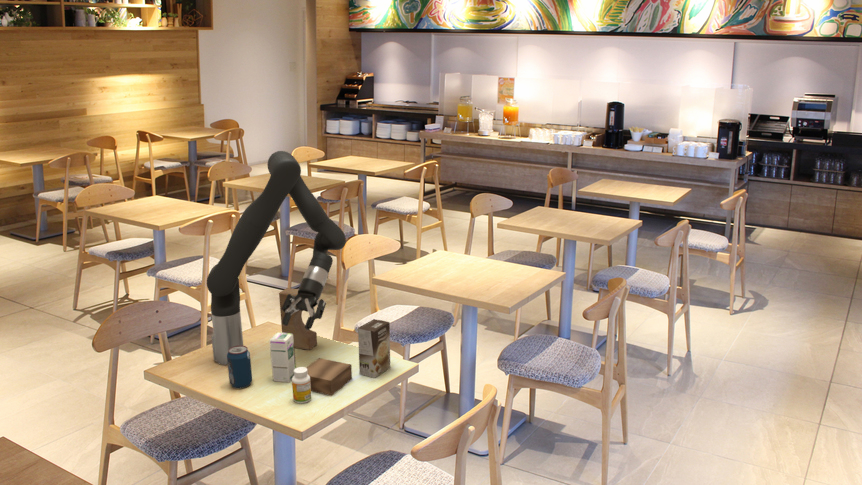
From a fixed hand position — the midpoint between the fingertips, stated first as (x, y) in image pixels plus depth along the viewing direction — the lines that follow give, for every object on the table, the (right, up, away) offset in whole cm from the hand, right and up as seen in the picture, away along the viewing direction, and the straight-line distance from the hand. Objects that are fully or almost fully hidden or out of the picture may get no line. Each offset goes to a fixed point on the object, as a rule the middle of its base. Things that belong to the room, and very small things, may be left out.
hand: (295, 326), depth 232 cm
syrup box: (-3, -16, -3) cm, 17 cm away
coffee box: (+25, -15, +2) cm, 29 cm away
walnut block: (+11, -17, -7) cm, 21 cm away
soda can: (-16, -17, -6) cm, 24 cm away
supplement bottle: (+5, -20, -16) cm, 26 cm away
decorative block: (-2, -9, +22) cm, 24 cm away
